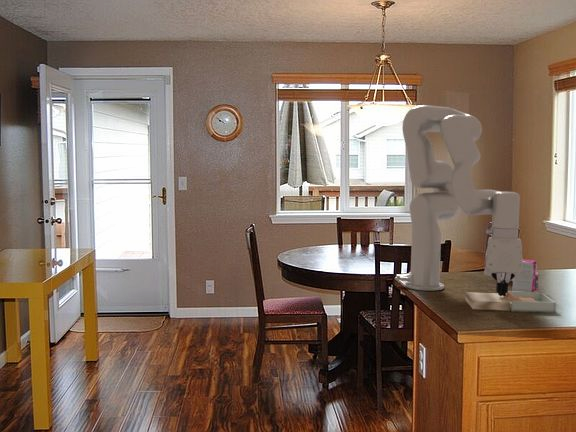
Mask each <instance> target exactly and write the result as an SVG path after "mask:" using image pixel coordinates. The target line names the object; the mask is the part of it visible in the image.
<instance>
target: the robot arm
mask: <svg viewBox="0 0 576 432" xmlns="http://www.w3.org/2000/svg"><path fill="white" fill-rule="evenodd" d="M427 133H440V134H441V137H442V140H443V142H444V144H445V147H446V149H447V152H448V154H449V157H450V160H451V162H452V164H453V167H452V166H451V164H450V163H449V162H447V161H445V160H436V158H435V155H434V148H433V144H432V141H431V140H430V138H429V137H428V135H427ZM482 134H483V127H482V123H481V122H480V120H479V119H478V118H477V117H475V116H474V115H472V114H469V113H466V112H463V111H460V110H457V109H455V108H452V107H448V106H438V105H426V104H425V105H424V104H423V105H417V106H414V107H412V108H411V109H409V110H408V111H407V113H406V114H405V116H404V118H403V120H402V135H403V139H404V143H405V147H406V152H407V154H406V155H407V162H408V168H409V169H408V170H409V176H410V177H409V178H410V181H411V185H412V186H413V187H414V188H417V189H421V190H433V192H431V191H430V192H422V193H418V194H416V195H414V196H413V198H412V199H411V201H410V203H409V214H410V215H409V216H410V220H411V252H410V253H411V255H410V271H409V272H408V273H406V274H396V276H395V277H396V281H402V282H404V281H405V283H404V284H405V287H406V288H407V289H410V290H411V289H412V290H415V291H425V292H426V291H427V292H429V291H430V292H432V291H441V290H443V289H444V287H445V284H444V283H442V282H440V274H441V273H440V272H441V249H442V247H441V245H442V234H441V229H440V226H439V224H438V222H441V221H450V220H452V219H454V218H455V217H456V215H457V214H458V212H459V208H460V209H461V211H463V212H464V213H465V214H466V215H470V216H477V215H478V216H479V215H480V216H481V215H485V216H486V215H491V227H490V228H487V229H486V232H485V233H486V234H487V235H490V237H488V239H487V245H486V251H485V257H484V271H483V274H484V275H485V276H488V277H492V278H493V279H494V281H496V287H495V288H496V289H495V291H496V293H498V295H499V296H506V293H508V291H509V283H510V282H511V281H510V280H512V279H513V278H514V277H518V276H521V275H522V272H521V271H522V268H523V259H524V258H523V257H524V256H523V245H522V244H523V243H522V239H521V238H519V225H520V224H519V223H520V204H521V196H520V194H519V193H518V192H515V191H501V190H495V189H476V188H475V186H474V184H473V181H472V177H471V169H472V167H473V166H474V165H476V164H477V163H479V161H480V159H481V156H482V155H481V152H480V150H479V148H478V145H477V144H476V141H478V140H479V139H480V138H481V135H482ZM501 273H505V274H504V279H503V281H502V280H501Z"/></svg>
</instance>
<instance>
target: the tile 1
mask: <svg viewBox="0 0 576 432" xmlns="http://www.w3.org/2000/svg"><path fill="white" fill-rule="evenodd" d="M504 297H505V298H506V299H507V300H509V301H511V302H512V301H521V300H520V299H518V298H517V297H516V296H514V295H512V294H511V293H509V292H508V293H506V296H504Z"/></svg>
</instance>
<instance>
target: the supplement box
mask: <svg viewBox="0 0 576 432" xmlns="http://www.w3.org/2000/svg"><path fill="white" fill-rule="evenodd" d="M536 265H537V260H531V259H525V258H523V268H522V271H521V272H522V275H521V276H518V277H514V278H513V281H512V287H511V288H512V289H511V291H518V292H534V285H535V272H536V271H537V270H536Z"/></svg>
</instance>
